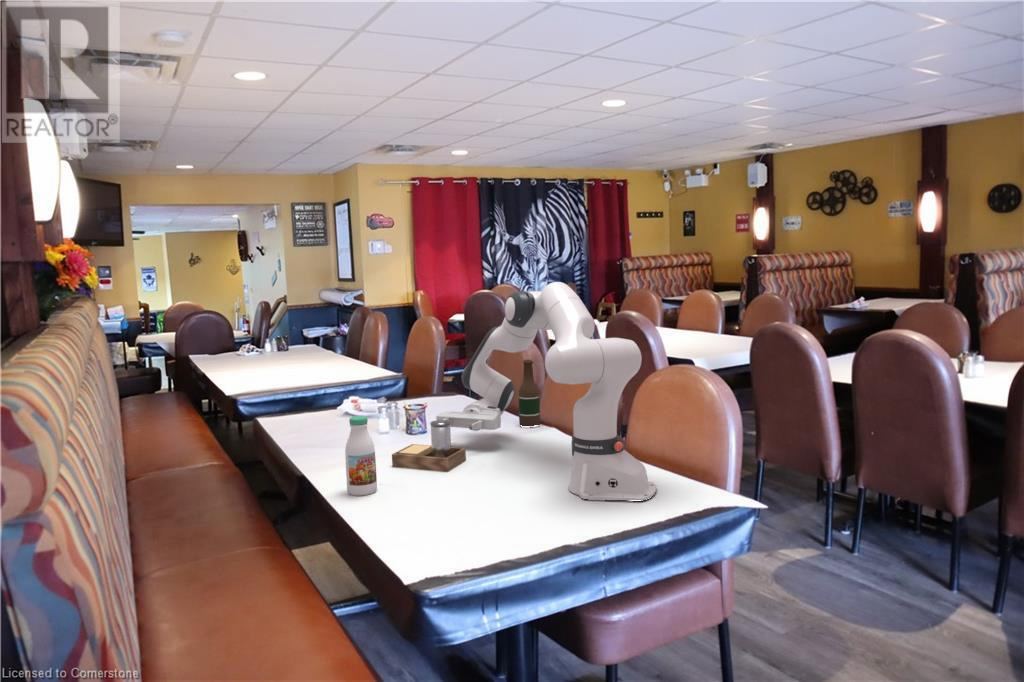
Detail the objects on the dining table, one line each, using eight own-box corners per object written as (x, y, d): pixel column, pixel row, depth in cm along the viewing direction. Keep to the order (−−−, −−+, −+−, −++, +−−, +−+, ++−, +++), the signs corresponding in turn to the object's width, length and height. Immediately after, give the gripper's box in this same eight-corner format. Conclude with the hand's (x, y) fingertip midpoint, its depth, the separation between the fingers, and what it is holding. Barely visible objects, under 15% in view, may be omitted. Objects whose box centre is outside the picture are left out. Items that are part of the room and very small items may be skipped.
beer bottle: (516, 428, 255) (514, 361, 252) (522, 423, 262) (520, 358, 259) (537, 428, 252) (535, 361, 250) (542, 423, 260) (541, 358, 257)
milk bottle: (341, 494, 187) (336, 419, 185) (360, 485, 194) (356, 413, 191) (364, 498, 183) (360, 421, 181) (383, 489, 190) (379, 415, 188)
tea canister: (455, 462, 210) (453, 420, 209) (446, 468, 205) (444, 424, 203) (437, 461, 212) (436, 419, 211) (428, 466, 207) (426, 423, 206)
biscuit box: (432, 459, 215) (431, 446, 214) (417, 467, 206) (416, 453, 206) (414, 457, 217) (414, 444, 217) (399, 465, 209) (398, 452, 208)
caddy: (466, 463, 212) (465, 448, 212) (447, 474, 201) (447, 459, 201) (413, 458, 219) (412, 444, 218) (392, 469, 208) (391, 454, 207)
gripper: (447, 404, 234) (426, 414, 222) (504, 408, 227) (487, 418, 214) (447, 423, 235) (427, 433, 222) (505, 427, 227) (487, 438, 215)
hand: (457, 426), depth 218 cm, fingers open, 8 cm apart
